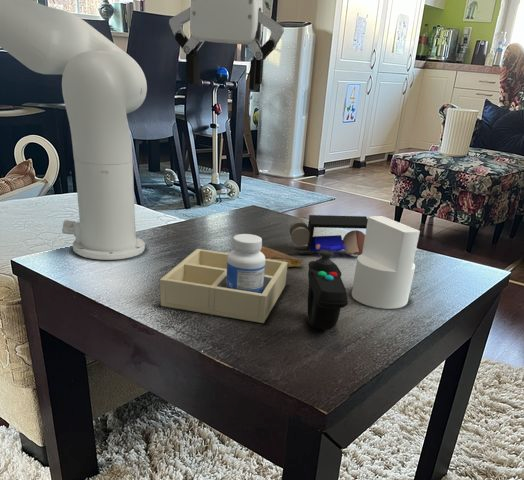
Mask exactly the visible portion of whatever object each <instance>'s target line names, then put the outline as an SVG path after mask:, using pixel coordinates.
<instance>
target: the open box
mask: <svg viewBox="0 0 524 480" xmlns="http://www.w3.org/2000/svg"><path fill="white" fill-rule="evenodd" d="M229 253H230V252H221V251H216V250H215V251H214V250H208V249H203V248H196V249H195V250H194V251H192V252H191V253H190V254H189V255H187V256H186V257H185V258H184V259H183V260H181V261H180V262H179V263H178V264H177V265H176V266H174V267H173V268H172V269H171V270H169V271H168V272H167V273H166V274H165V275H163V276H162V277H161V278H160V279H159V281H160V282H159V287H160V288H159V289H160V291H159V293H160V306H161V307H166V308H172V309H178V310H184V311H189V312H196V313H201V314H207V315H211V316H218V317H225V318H231V319H237V320H242V321H246V322H247V321H248V322H255V323H260V324H264V323H265V322H266V321H267V318H268V317H269V315H270V313H271V311H272V310H273V308H274V306H275V305H276V304H277V302H278V299H279V298H280V296H281V294H282V292H283V290H284V289H285V287H286V282H287V273H288V267H287V264H288V262H284V261H277V260H270V259H265V272H264V284H263V293H262V294H261V293H255V292H249V291H243V290H237V289H230V288H226V280H227V258H228V254H229Z"/></svg>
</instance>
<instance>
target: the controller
mask: <svg viewBox="0 0 524 480" xmlns="http://www.w3.org/2000/svg"><path fill="white" fill-rule="evenodd" d="M334 253H335V252H334V251H330V250H320V251H319V252H317V254H318V255H319V256H320V258H318V259H317V260H311V261H308V273H307V278H308V279H307V280H308V289H307V317H308V318H307V319H308V324H309V325H310V326H311V328H313V329H315V330H326V331H327V330H331V329H333V328H335V326H337V323H338V322H339V317H340V314H341V309H344V308H346V307H347V306H348V305H349V299H348V292H347V289H346V287H345V284H344V283H343V280H342V272H341V270H340V268H339V267H338V265H337V264H336V263H335V262H334V261H333V260H332V259H331V257H333V256H335V255H334Z"/></svg>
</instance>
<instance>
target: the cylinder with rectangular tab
mask: <svg viewBox="0 0 524 480" xmlns="http://www.w3.org/2000/svg"><path fill="white" fill-rule="evenodd" d="M367 219H368V222H367V228H366V229H365V233H364V234H365V240H364V246H363V252H362V254H361V255H359V256H356V257H357V258H356V263H355V264H356V265H355V269H354V276H353V283H352V287H351V288H352V289H351V297H352V298H353V299H354V300H356V301H357V302H359V303H360V304H363V305H364V306H365V305H366V306H368V307H372V308H377V309H384V310H385V309H387V310H389V309H390V310H391V309H392V310H393V309H401V308H403V307H405V306H406V305H407V304H408V303H409V298H410V294H411V289H412V285H413V280H414V274H415V270H416V264H415V263H414V262H415V258H416V257H415V256H416V252H417V248H418V243H419V238H420V235H421V234H420V233H421V230H419V229H416V228H414V227H412V226H409V225H406V224H404V223H401V222H399V221H397V220H394V219H391V218H390V217H389V218H388V217H386V216H384V215H374V216H368V217H367Z"/></svg>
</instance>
